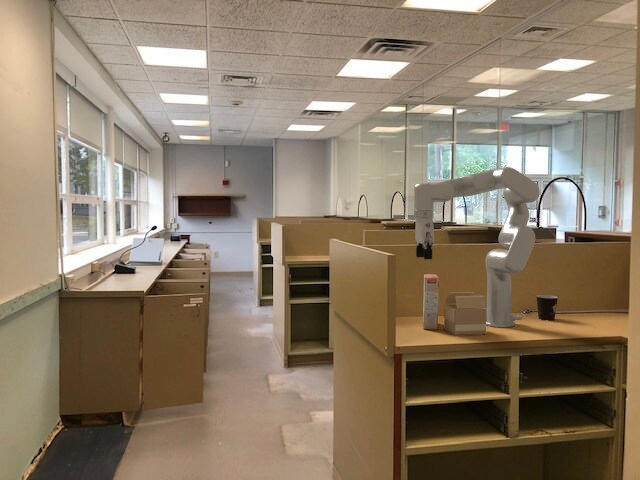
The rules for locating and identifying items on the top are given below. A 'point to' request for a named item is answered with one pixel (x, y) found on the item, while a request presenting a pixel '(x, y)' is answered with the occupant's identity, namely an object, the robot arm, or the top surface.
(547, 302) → the coffee mug
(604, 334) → the top surface
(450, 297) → the far flap
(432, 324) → the cracker box
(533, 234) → the robot arm
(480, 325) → the carton
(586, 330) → the top surface
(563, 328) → the top surface
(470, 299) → the near flap
